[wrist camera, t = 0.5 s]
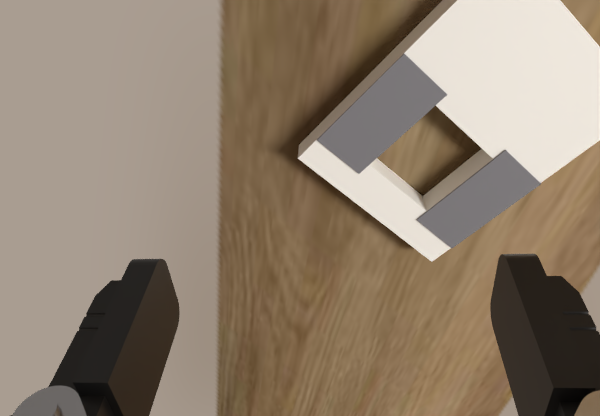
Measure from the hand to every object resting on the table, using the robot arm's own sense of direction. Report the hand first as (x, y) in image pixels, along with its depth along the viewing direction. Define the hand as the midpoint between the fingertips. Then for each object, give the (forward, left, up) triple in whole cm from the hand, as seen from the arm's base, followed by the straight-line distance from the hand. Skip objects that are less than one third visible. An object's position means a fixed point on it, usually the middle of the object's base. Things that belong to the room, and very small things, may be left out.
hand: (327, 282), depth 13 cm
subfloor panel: (-1, +12, -25) cm, 28 cm away
